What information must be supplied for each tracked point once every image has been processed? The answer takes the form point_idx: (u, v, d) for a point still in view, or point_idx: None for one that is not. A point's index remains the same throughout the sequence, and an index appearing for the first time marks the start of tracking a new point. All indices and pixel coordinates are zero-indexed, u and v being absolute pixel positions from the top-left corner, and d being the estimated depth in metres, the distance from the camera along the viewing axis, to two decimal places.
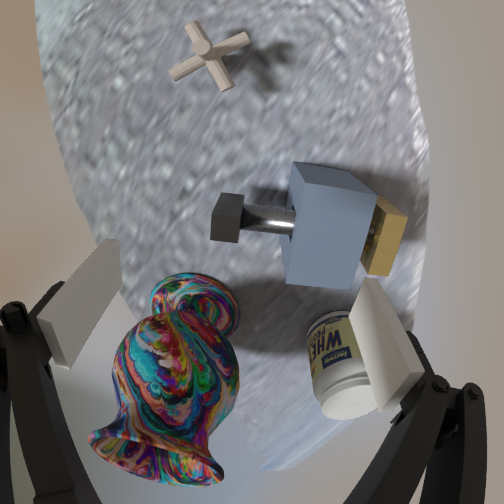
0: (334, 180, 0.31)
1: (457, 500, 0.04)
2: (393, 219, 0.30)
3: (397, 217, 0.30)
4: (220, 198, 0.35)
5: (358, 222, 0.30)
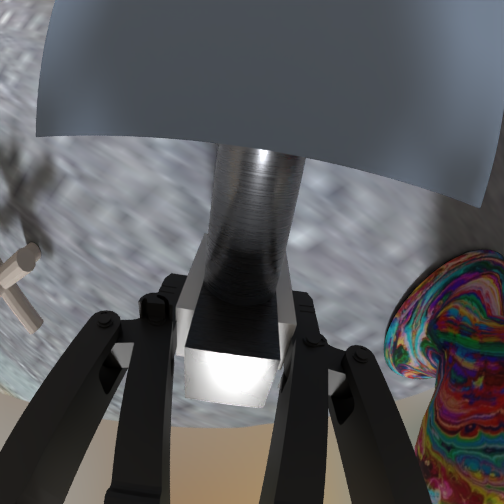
0: None
1: (386, 481, 0.05)
2: None
3: None
4: None
5: None
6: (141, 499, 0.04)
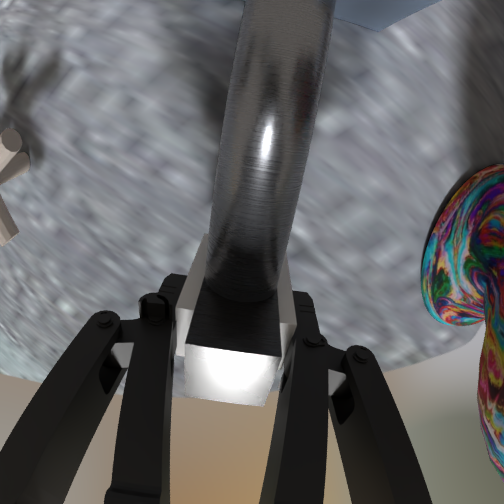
0: None
1: (386, 481, 0.05)
2: None
3: None
4: None
5: None
6: (141, 499, 0.04)
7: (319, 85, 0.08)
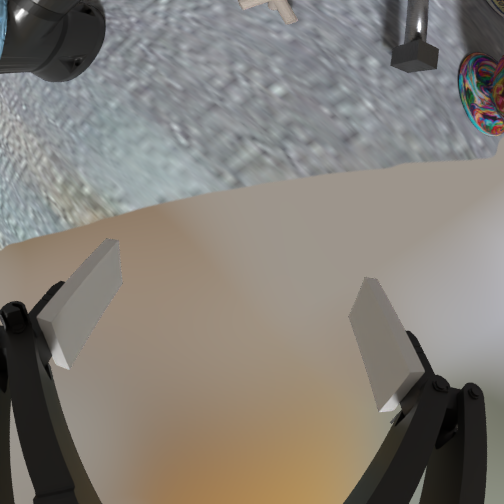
0: None
1: (456, 500, 0.04)
2: None
3: None
4: (398, 62, 0.29)
5: None
6: (60, 496, 0.03)
7: None
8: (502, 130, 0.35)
